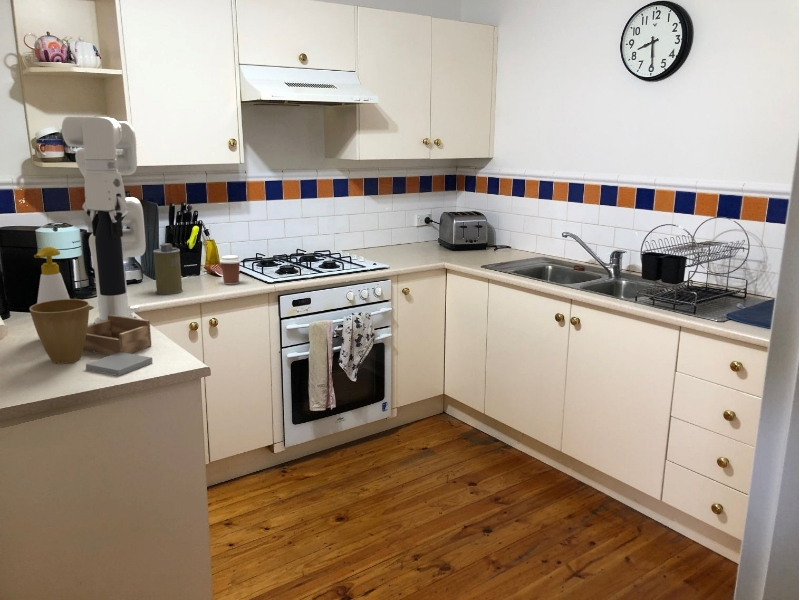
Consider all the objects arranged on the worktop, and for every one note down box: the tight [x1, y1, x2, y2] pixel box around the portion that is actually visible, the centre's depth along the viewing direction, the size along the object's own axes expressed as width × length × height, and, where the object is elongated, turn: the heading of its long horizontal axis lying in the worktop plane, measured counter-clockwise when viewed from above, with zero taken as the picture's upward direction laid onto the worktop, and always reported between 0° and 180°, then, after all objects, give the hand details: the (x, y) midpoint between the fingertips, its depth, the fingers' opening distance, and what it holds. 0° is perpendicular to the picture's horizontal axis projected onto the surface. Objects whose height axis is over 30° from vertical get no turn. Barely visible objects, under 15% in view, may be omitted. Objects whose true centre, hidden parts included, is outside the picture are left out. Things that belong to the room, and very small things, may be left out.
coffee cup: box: [219, 254, 242, 285], centre depth 290 cm, size 9×9×12 cm
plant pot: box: [29, 298, 90, 364], centre depth 185 cm, size 15×15×16 cm
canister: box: [152, 242, 184, 295], centre depth 272 cm, size 11×10×20 cm
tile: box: [85, 352, 154, 376], centre depth 182 cm, size 12×12×2 cm
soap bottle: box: [33, 246, 71, 304], centre depth 202 cm, size 13×10×29 cm
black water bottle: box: [95, 211, 126, 296], centre depth 174 cm, size 6×6×30 cm
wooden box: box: [83, 315, 152, 356], centre depth 197 cm, size 12×16×8 cm
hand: (108, 235), depth 174 cm, fingers closed on black water bottle, 5 cm apart
